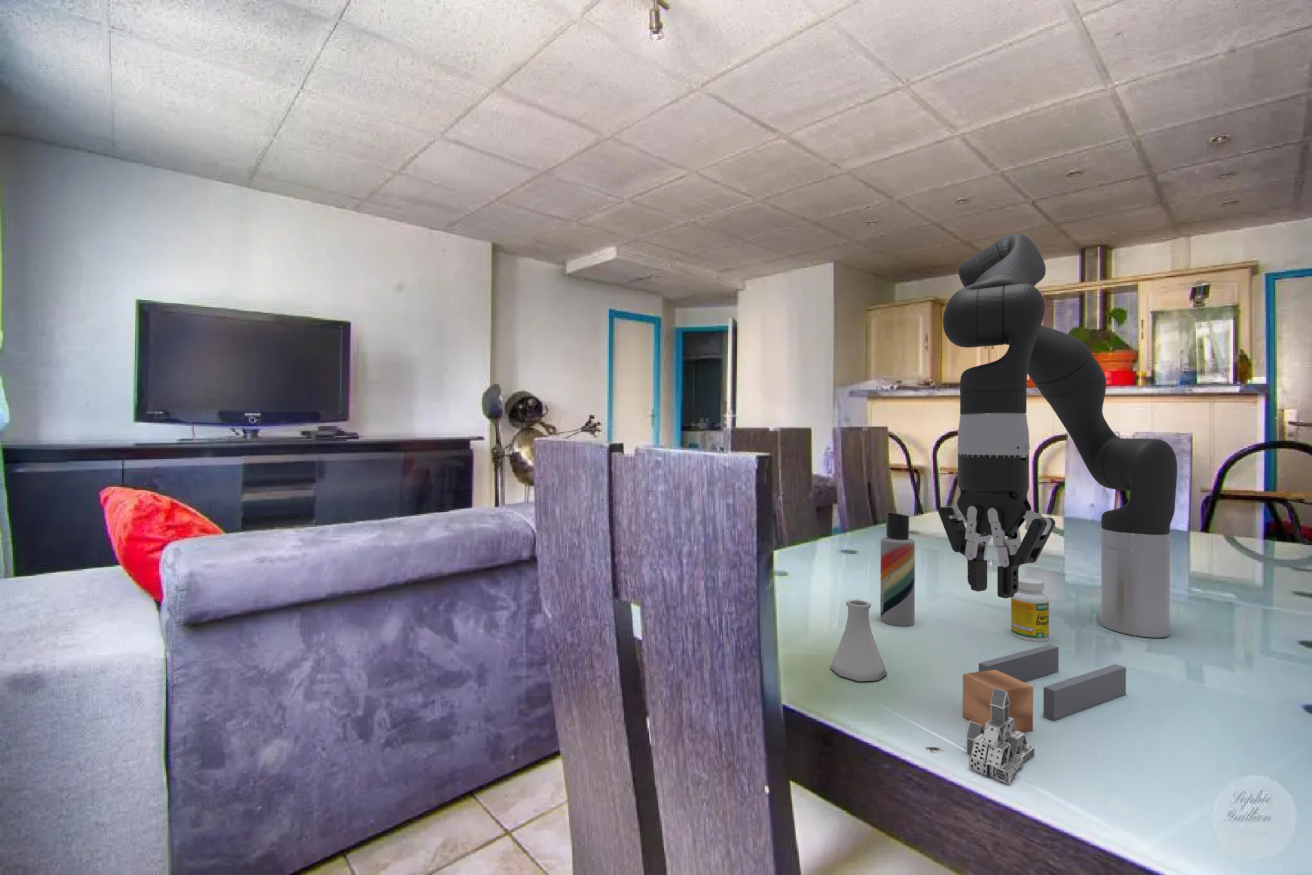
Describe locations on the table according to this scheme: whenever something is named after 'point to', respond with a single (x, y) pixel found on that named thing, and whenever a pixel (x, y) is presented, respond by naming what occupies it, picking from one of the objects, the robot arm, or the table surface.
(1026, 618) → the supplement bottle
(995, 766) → the house of cards
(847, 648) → the flask
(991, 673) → the terracotta block
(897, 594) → the lotion bottle
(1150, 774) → the table surface
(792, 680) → the table surface
